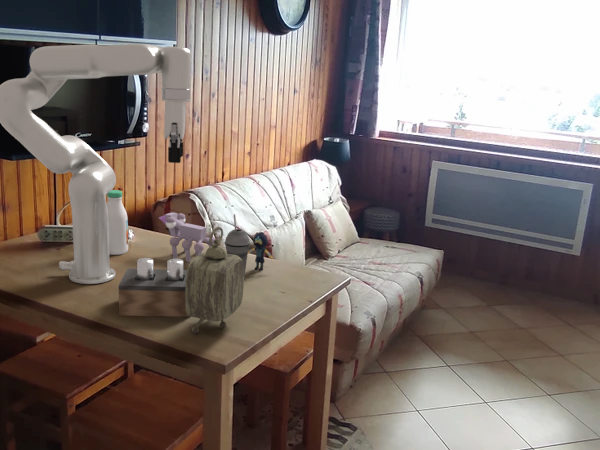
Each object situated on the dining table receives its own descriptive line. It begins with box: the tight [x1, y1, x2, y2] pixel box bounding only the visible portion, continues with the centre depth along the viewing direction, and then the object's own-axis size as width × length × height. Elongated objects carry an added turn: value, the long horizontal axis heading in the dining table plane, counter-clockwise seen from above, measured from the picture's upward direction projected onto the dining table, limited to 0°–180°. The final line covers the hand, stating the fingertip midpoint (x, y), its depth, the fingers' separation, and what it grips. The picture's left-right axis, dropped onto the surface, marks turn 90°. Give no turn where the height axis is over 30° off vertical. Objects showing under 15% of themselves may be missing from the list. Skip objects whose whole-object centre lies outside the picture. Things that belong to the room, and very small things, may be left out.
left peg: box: [136, 257, 154, 281], centre depth 154 cm, size 4×4×8 cm
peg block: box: [118, 267, 190, 318], centre depth 156 cm, size 18×12×8 cm
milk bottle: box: [106, 189, 129, 256], centre depth 194 cm, size 8×8×20 cm
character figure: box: [247, 232, 274, 272], centre depth 187 cm, size 9×4×12 cm, turn 67°
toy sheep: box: [158, 212, 216, 263], centre depth 195 cm, size 20×11×14 cm, turn 64°
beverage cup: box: [224, 213, 251, 277], centre depth 176 cm, size 7×7×20 cm
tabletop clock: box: [185, 226, 245, 334], centre depth 144 cm, size 14×9×25 cm, turn 163°
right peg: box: [166, 258, 184, 281], centre depth 155 cm, size 4×4×8 cm
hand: (175, 159), depth 165 cm, fingers open, 9 cm apart
